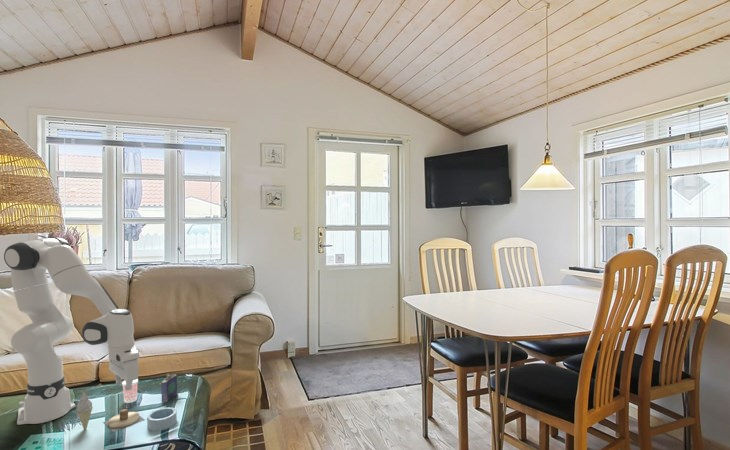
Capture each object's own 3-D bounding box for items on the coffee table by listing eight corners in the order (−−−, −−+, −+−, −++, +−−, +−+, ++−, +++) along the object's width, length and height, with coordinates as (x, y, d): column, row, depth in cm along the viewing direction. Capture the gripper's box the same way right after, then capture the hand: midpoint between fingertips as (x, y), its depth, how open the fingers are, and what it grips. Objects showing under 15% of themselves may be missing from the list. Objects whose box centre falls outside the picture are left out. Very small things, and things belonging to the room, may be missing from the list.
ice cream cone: (90, 425, 154) (89, 387, 154) (95, 430, 151) (93, 390, 151) (75, 431, 150) (73, 391, 150) (79, 435, 147) (78, 395, 147)
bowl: (143, 426, 153) (143, 414, 153) (169, 416, 161) (169, 405, 161) (154, 435, 147) (154, 423, 147) (181, 424, 154) (180, 412, 154)
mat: (103, 423, 156) (103, 422, 156) (133, 412, 164) (133, 411, 164) (113, 433, 149) (113, 431, 149) (144, 421, 157) (144, 419, 157)
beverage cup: (141, 400, 175) (140, 368, 174) (126, 406, 170) (125, 373, 169) (134, 397, 178) (133, 365, 178) (119, 402, 173) (118, 370, 173)
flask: (165, 403, 172) (164, 378, 171) (159, 403, 172) (158, 378, 172) (178, 393, 181) (178, 370, 181) (172, 393, 181) (172, 370, 181)
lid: (104, 422, 156) (103, 411, 156) (133, 411, 164) (132, 401, 164) (114, 431, 149) (113, 420, 149) (143, 419, 157) (143, 409, 157)
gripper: (103, 348, 160) (105, 382, 160) (122, 359, 147) (124, 396, 147) (120, 344, 165) (122, 377, 165) (141, 354, 151) (143, 390, 152)
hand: (123, 386), depth 156 cm, fingers open, 8 cm apart
